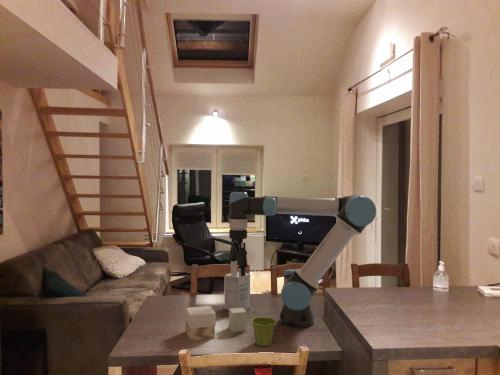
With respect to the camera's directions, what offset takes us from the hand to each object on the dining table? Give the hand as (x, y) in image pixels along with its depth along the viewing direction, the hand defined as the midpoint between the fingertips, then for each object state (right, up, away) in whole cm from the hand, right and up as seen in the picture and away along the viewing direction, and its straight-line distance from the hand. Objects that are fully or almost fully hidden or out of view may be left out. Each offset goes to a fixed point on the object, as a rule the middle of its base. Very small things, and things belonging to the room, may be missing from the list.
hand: (237, 279), depth 169 cm
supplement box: (-1, -21, +28) cm, 35 cm away
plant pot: (+10, -21, -15) cm, 28 cm away
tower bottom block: (-15, -21, -7) cm, 27 cm away
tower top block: (-15, -16, -7) cm, 23 cm away
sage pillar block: (0, -21, 0) cm, 21 cm away
